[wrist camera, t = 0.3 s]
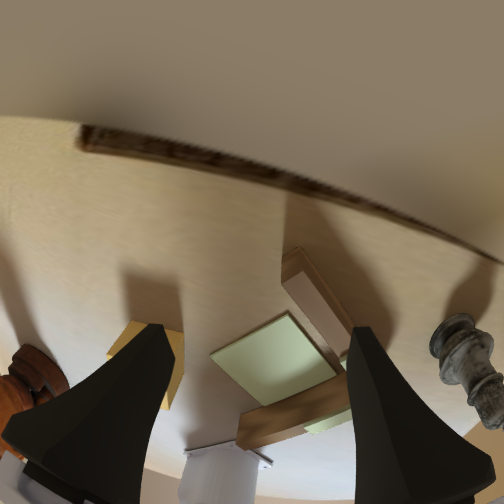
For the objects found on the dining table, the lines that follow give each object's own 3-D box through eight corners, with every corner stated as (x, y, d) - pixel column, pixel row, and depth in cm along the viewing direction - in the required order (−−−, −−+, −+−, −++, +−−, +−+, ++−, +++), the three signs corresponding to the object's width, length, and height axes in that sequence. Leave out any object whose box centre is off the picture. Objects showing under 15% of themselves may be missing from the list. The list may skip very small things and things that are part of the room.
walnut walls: (249, 421, 28) (244, 454, 23) (155, 337, 24) (135, 370, 20) (380, 364, 23) (392, 400, 19) (299, 246, 20) (303, 274, 16)
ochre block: (184, 372, 26) (168, 410, 21) (137, 359, 26) (116, 394, 21) (184, 332, 24) (164, 371, 19) (132, 319, 24) (106, 354, 20)
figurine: (42, 388, 32) (-20, 475, 14) (14, 338, 29) (-66, 425, 10) (81, 401, 31) (18, 506, 13) (51, 347, 28) (-39, 459, 9)
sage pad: (264, 404, 26) (264, 406, 26) (210, 354, 24) (209, 356, 24) (336, 372, 24) (337, 374, 24) (287, 313, 22) (287, 315, 22)
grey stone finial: (430, 318, 21) (491, 424, 10) (481, 303, 20) (550, 389, 9) (422, 367, 23) (463, 466, 12) (470, 351, 22) (519, 437, 11)
